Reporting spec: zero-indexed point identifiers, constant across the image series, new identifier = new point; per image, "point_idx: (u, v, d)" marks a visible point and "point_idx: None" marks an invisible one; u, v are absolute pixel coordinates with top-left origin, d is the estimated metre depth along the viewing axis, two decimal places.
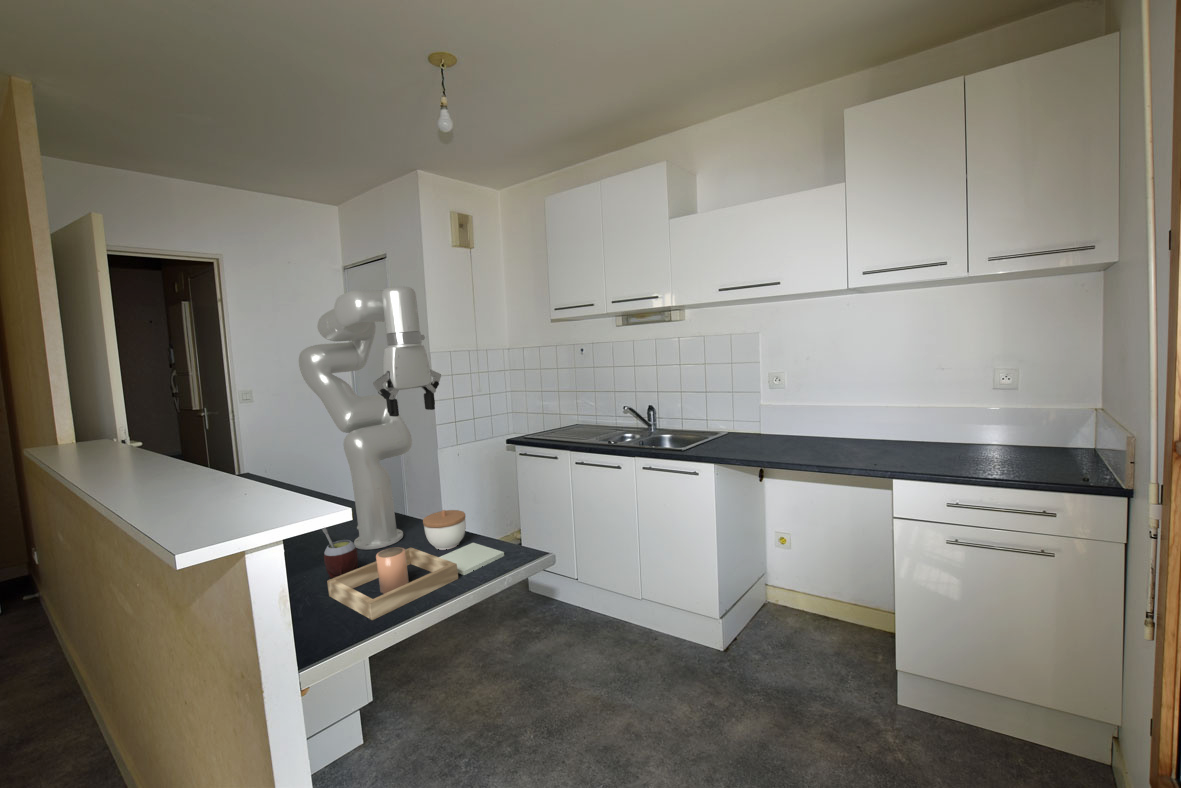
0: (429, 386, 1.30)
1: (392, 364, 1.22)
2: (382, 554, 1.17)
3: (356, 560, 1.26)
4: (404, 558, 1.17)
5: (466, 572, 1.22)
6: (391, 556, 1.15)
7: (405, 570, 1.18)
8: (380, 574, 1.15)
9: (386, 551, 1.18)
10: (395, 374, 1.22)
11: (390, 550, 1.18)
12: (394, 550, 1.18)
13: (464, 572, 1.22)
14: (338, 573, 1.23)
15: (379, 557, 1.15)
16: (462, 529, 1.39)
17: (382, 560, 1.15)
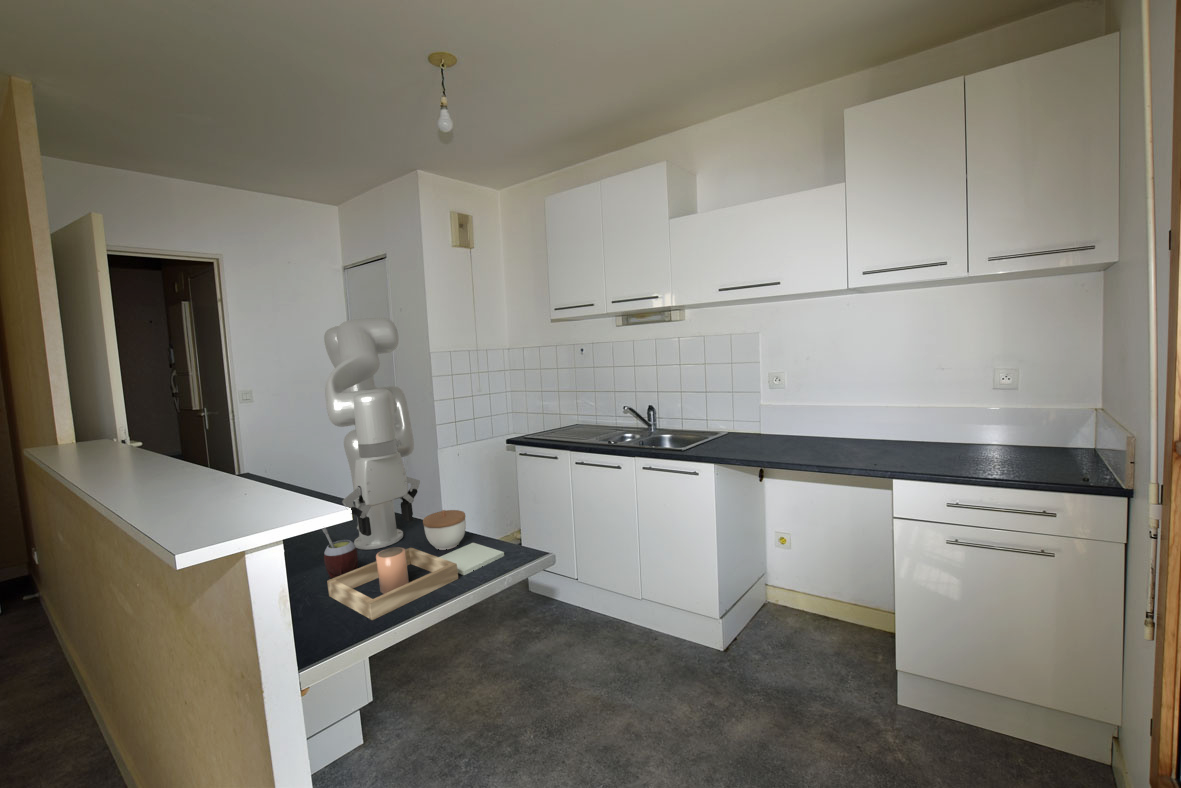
0: (406, 496, 1.18)
1: (363, 479, 1.11)
2: (382, 554, 1.17)
3: (356, 560, 1.26)
4: (404, 558, 1.17)
5: (466, 572, 1.22)
6: (391, 556, 1.15)
7: (405, 570, 1.18)
8: (380, 574, 1.15)
9: (386, 551, 1.18)
10: (367, 490, 1.11)
11: (390, 550, 1.18)
12: (394, 550, 1.18)
13: (464, 572, 1.22)
14: (338, 573, 1.23)
15: (379, 557, 1.15)
16: (462, 529, 1.39)
17: (382, 560, 1.15)
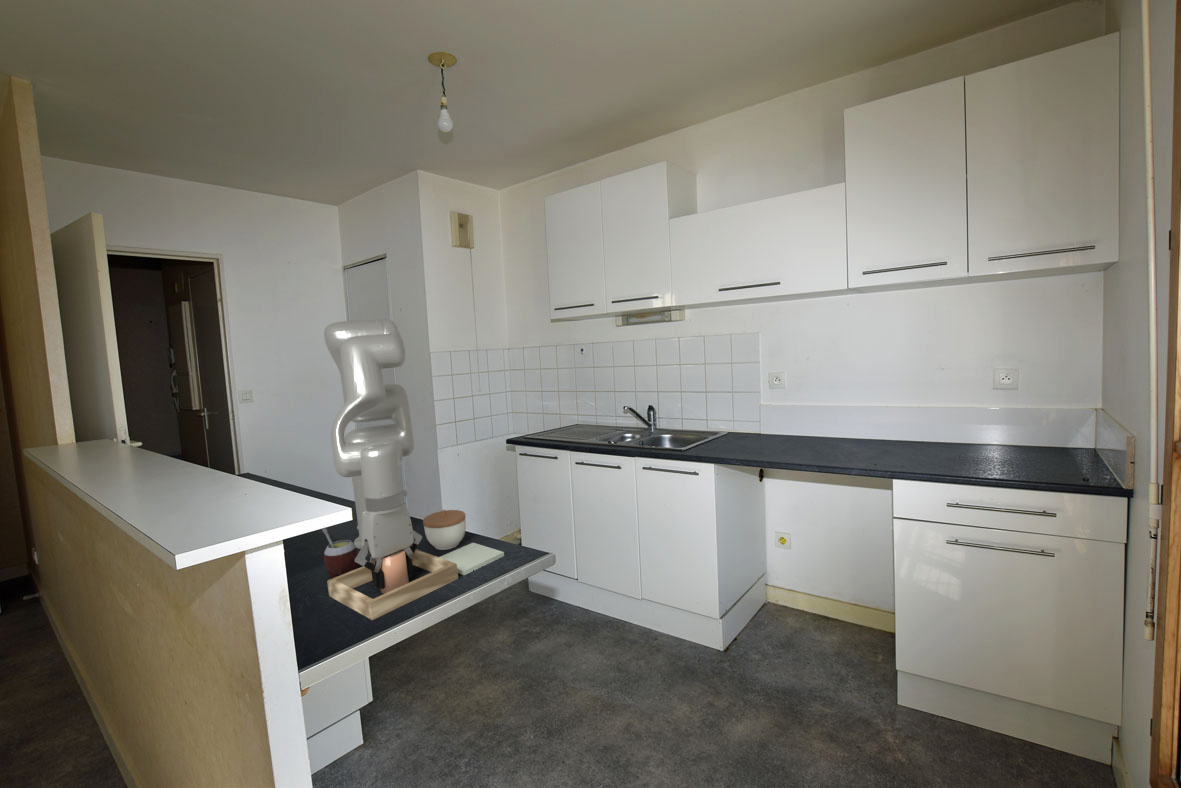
0: (408, 550, 1.19)
1: (370, 533, 1.12)
2: None
3: None
4: (404, 558, 1.17)
5: (466, 572, 1.22)
6: (391, 556, 1.15)
7: (405, 570, 1.18)
8: None
9: None
10: (373, 544, 1.12)
11: None
12: None
13: (464, 572, 1.22)
14: (338, 573, 1.23)
15: None
16: (462, 529, 1.39)
17: (382, 560, 1.15)
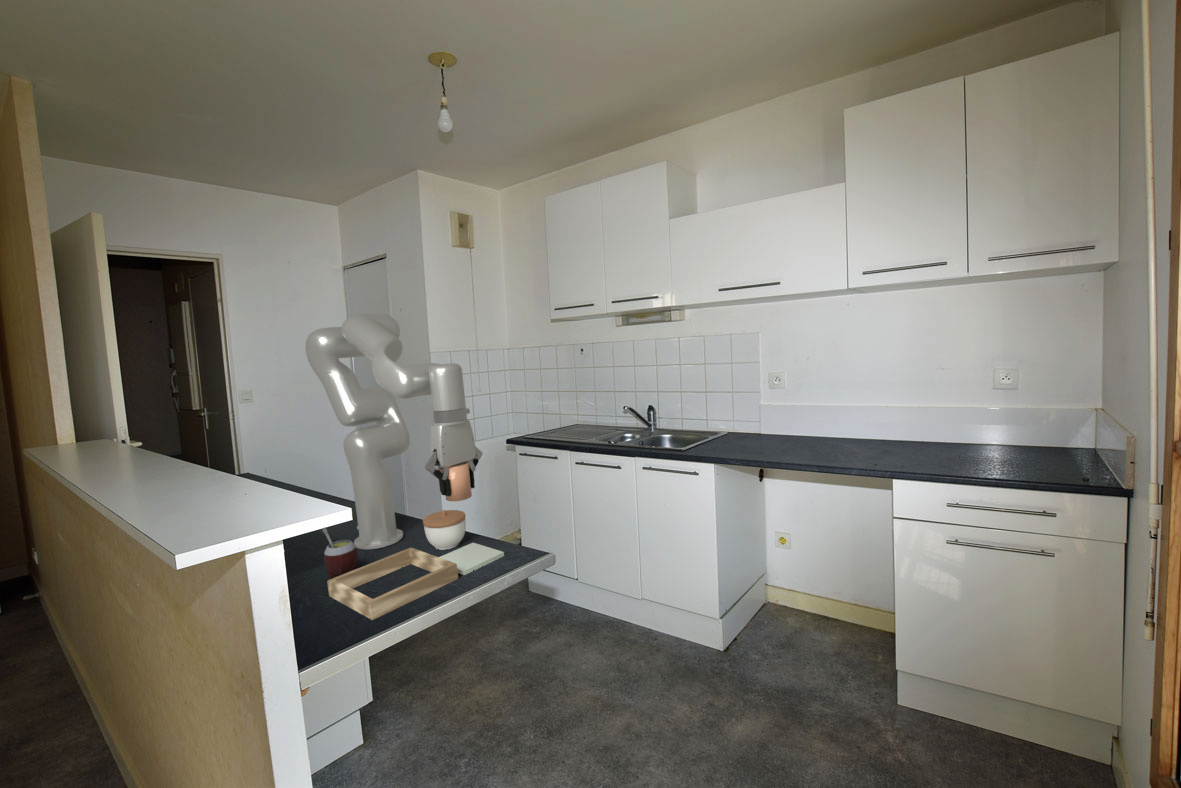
0: (470, 463, 1.28)
1: (439, 442, 1.22)
2: None
3: (356, 560, 1.26)
4: (468, 469, 1.27)
5: (466, 572, 1.22)
6: (457, 466, 1.24)
7: (469, 481, 1.27)
8: None
9: None
10: (442, 452, 1.22)
11: None
12: None
13: (464, 572, 1.22)
14: (338, 573, 1.23)
15: None
16: (462, 529, 1.39)
17: None
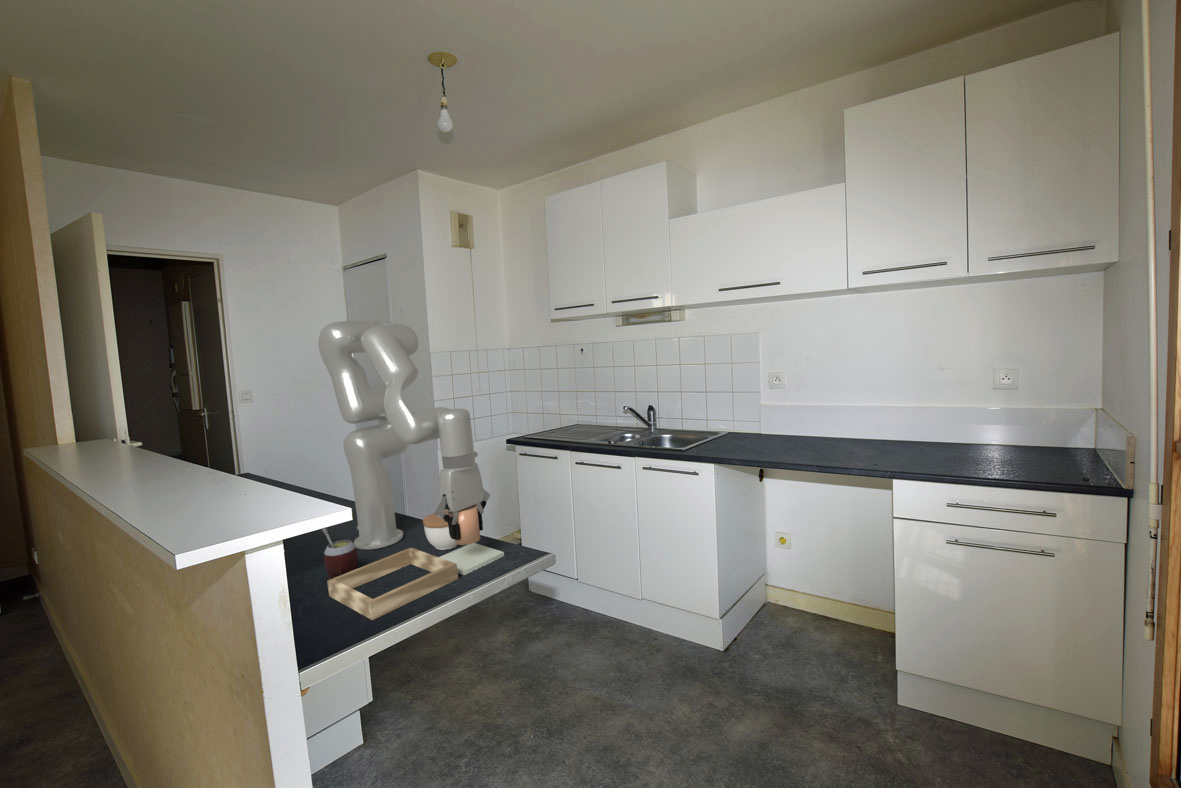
0: (479, 506, 1.30)
1: (448, 488, 1.23)
2: None
3: (356, 560, 1.26)
4: (477, 513, 1.28)
5: (466, 572, 1.22)
6: (466, 510, 1.26)
7: (478, 524, 1.29)
8: None
9: None
10: (451, 498, 1.23)
11: None
12: None
13: (464, 572, 1.22)
14: (338, 573, 1.23)
15: None
16: None
17: (458, 513, 1.26)
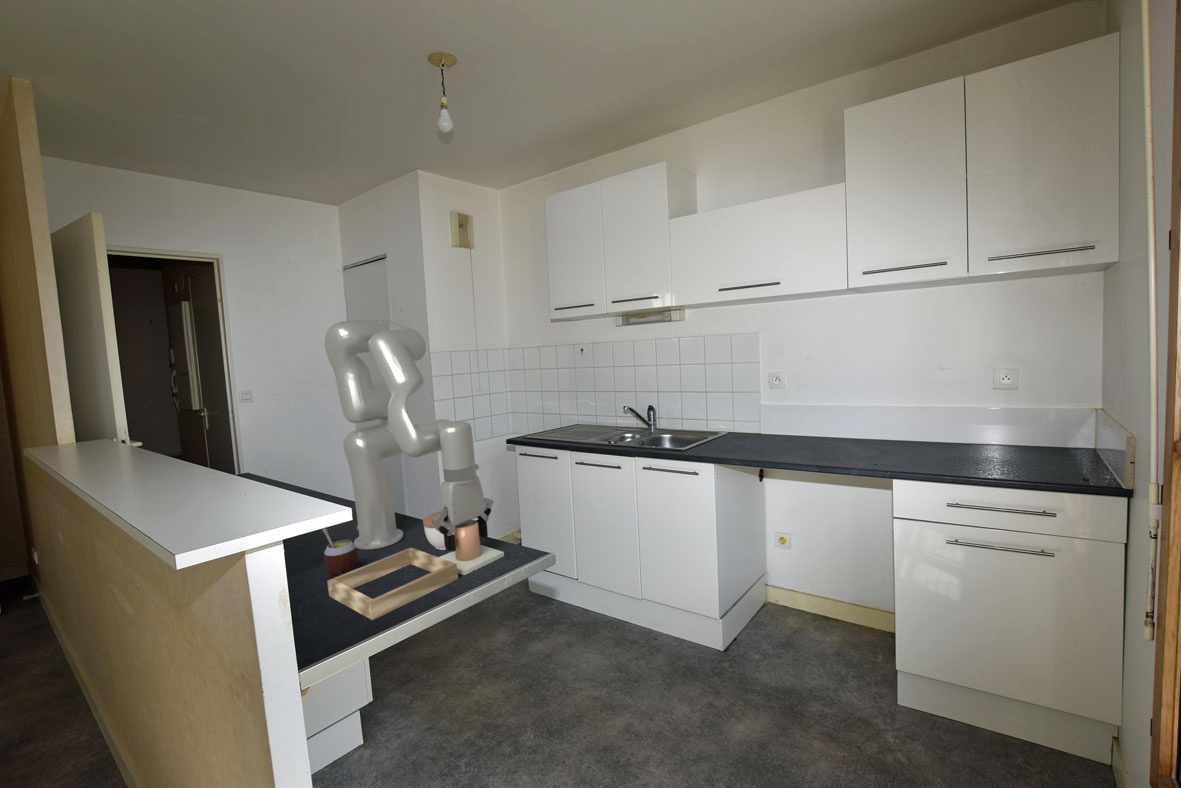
0: (482, 515, 1.31)
1: (450, 501, 1.24)
2: (458, 525, 1.28)
3: (356, 560, 1.26)
4: (477, 529, 1.29)
5: (466, 572, 1.22)
6: (467, 526, 1.27)
7: (478, 540, 1.29)
8: (457, 543, 1.27)
9: (461, 523, 1.30)
10: (452, 511, 1.24)
11: (464, 522, 1.30)
12: (468, 522, 1.30)
13: (464, 572, 1.22)
14: (338, 573, 1.23)
15: (456, 527, 1.27)
16: None
17: (459, 530, 1.26)
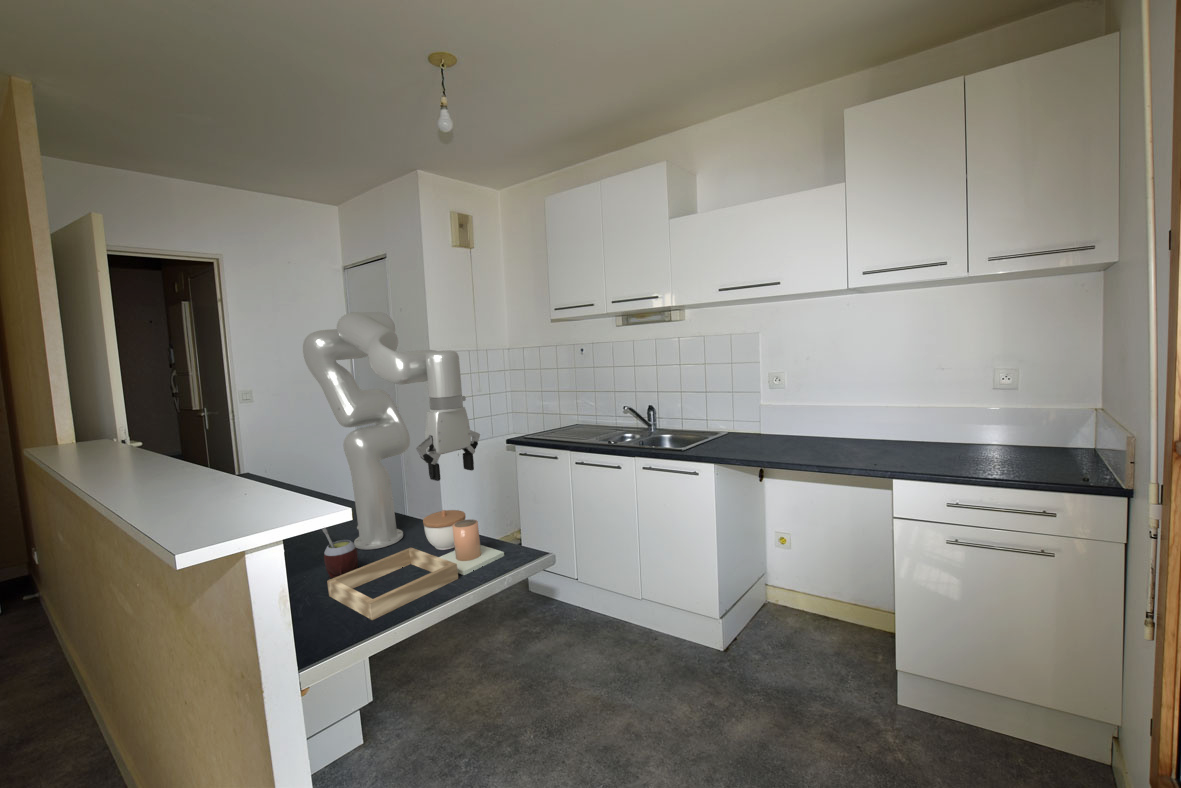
0: (469, 447, 1.30)
1: (435, 429, 1.22)
2: (458, 525, 1.28)
3: (356, 560, 1.26)
4: (477, 528, 1.29)
5: (466, 572, 1.22)
6: (467, 526, 1.27)
7: (478, 539, 1.29)
8: (457, 542, 1.27)
9: (461, 522, 1.30)
10: (438, 439, 1.22)
11: (464, 521, 1.30)
12: (468, 521, 1.30)
13: (464, 572, 1.22)
14: (338, 573, 1.23)
15: (456, 527, 1.27)
16: None
17: (458, 529, 1.26)
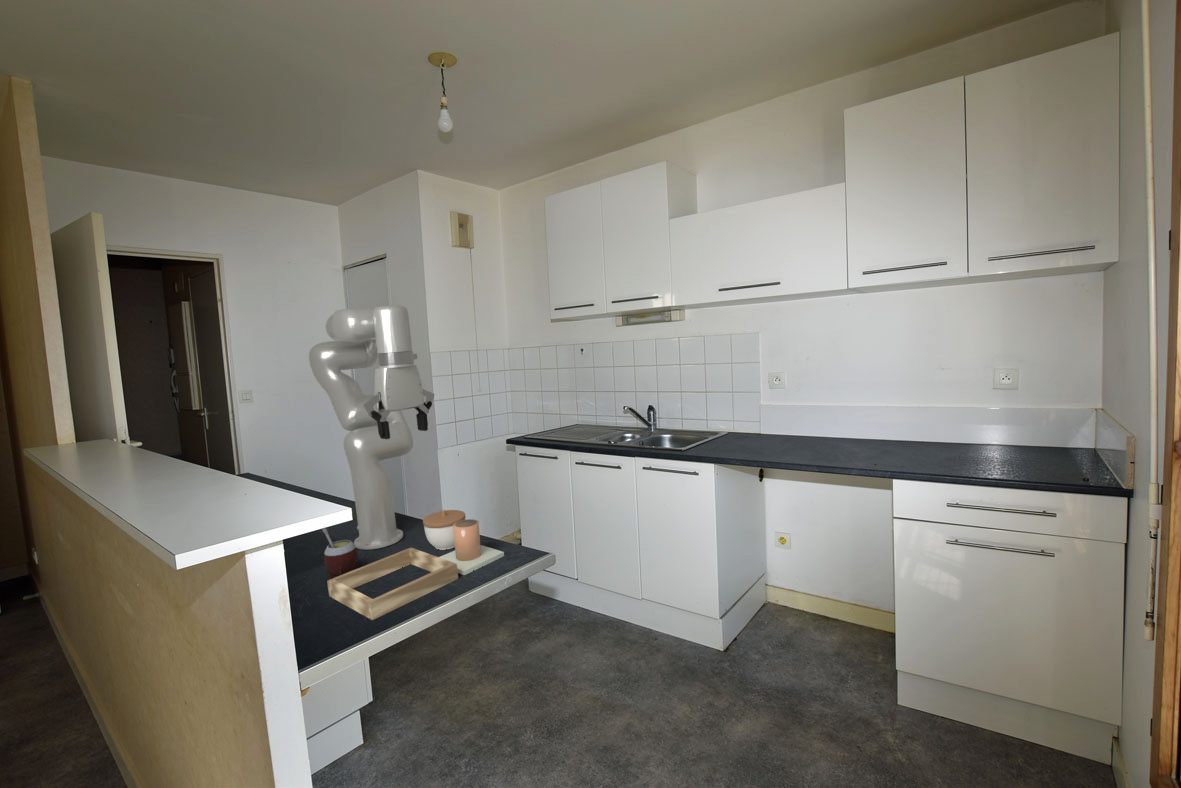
0: (422, 407, 1.26)
1: (383, 385, 1.18)
2: (459, 524, 1.28)
3: (356, 560, 1.26)
4: (478, 529, 1.29)
5: (466, 572, 1.22)
6: (467, 526, 1.27)
7: (478, 540, 1.29)
8: (457, 542, 1.27)
9: (462, 522, 1.30)
10: (386, 396, 1.18)
11: (465, 521, 1.30)
12: (469, 521, 1.30)
13: (464, 572, 1.22)
14: (338, 573, 1.23)
15: (456, 527, 1.27)
16: None
17: (459, 529, 1.26)
